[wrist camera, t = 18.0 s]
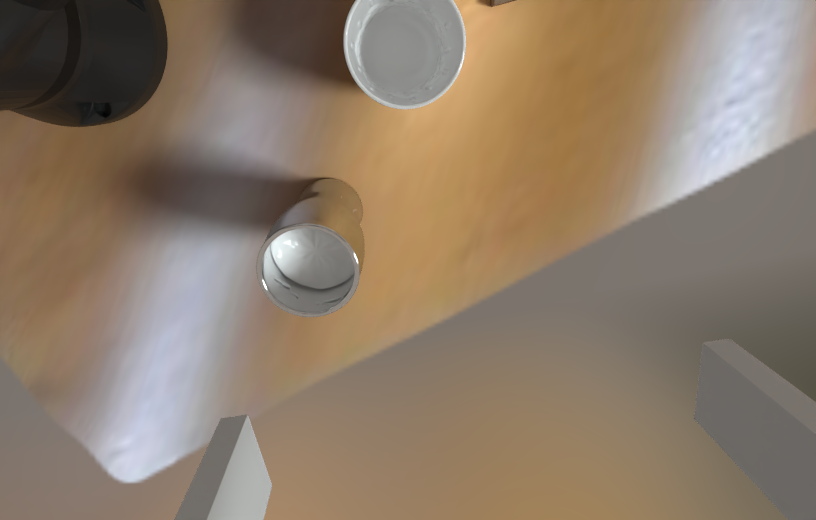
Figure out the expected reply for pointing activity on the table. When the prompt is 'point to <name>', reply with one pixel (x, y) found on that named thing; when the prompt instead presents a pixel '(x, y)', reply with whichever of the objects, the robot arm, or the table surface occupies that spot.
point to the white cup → (404, 49)
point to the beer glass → (314, 251)
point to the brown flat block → (499, 2)
